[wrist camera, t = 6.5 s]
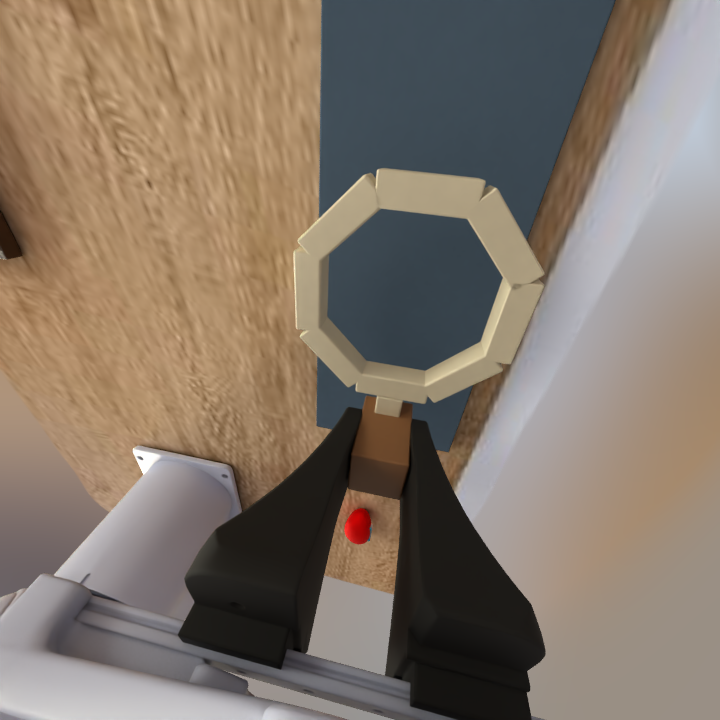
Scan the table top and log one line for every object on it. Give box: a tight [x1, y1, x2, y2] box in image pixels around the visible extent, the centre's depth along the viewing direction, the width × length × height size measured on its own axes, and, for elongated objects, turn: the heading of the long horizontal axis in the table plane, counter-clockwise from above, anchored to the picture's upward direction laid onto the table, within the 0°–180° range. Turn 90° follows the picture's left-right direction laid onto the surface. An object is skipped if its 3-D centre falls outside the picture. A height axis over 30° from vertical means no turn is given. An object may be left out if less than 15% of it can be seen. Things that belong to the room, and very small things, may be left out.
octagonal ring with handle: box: [294, 168, 545, 500], centre depth 10 cm, size 12×7×3 cm, turn 175°
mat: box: [317, 0, 616, 452], centre depth 13 cm, size 20×8×1 cm, turn 175°
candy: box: [345, 508, 372, 544], centre depth 23 cm, size 3×2×2 cm, turn 176°
